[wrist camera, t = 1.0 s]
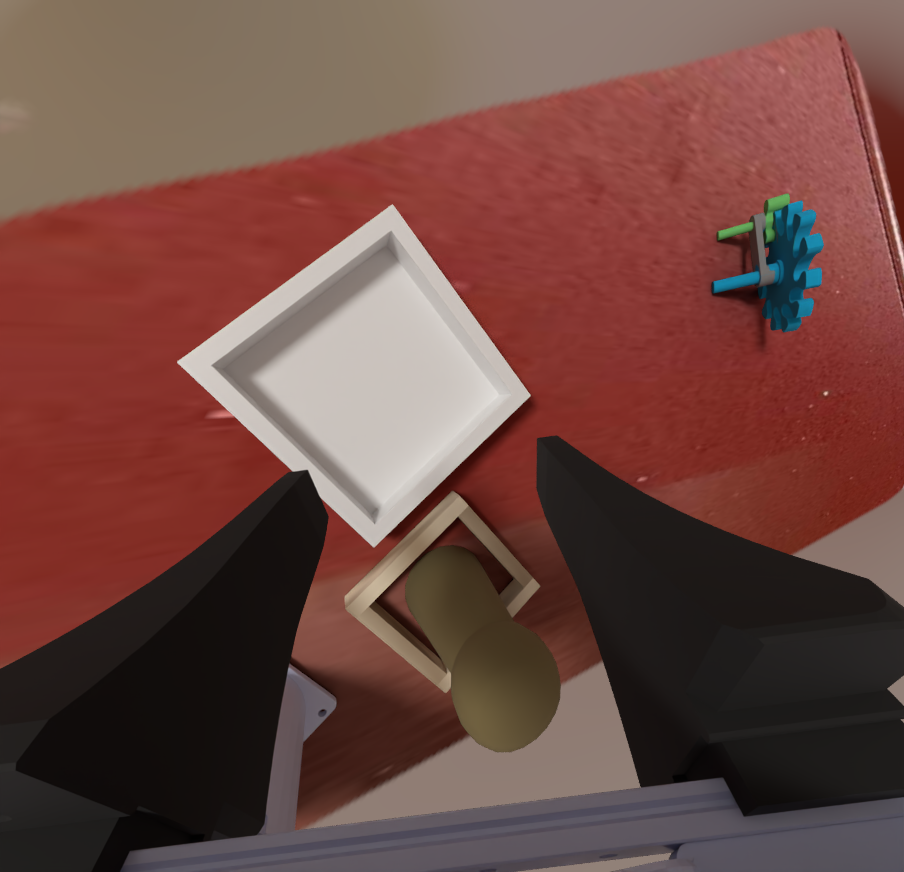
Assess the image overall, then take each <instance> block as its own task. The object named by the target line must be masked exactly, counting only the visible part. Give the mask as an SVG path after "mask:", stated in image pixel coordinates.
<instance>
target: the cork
mask: <svg viewBox="0 0 904 872" xmlns="http://www.w3.org/2000/svg"><path fill="white" fill-rule="evenodd" d="M405 599H406V602H407V605H408V608H409V610H410V612H411V613H412V615H413V616H414V618H415V619H416V621H417V622H418V624H419V625H420V627H421V629H422V630H423V632H424V633H425V635H426V636H427V638H428V639H429V641H430V642H431V644H432V645H433V647H434V648H435V650H436V652H437V653H438V655H439V656H440V658H441V659H442V661H443V662H444V664H445V665H446V667H447V668H448V670H449V671H450V673H451V694H452V700H453V703H454V706H455V709H456V712H457V715H458V717H459V720H460V723H461V725H462V726H463V727H464V729H465V730H466V731H467V732H468V734H469V735H470V736H471V737H472V738H473V739H474V740H475V741H476V742H477V743H478V744H480V745H482V746H484V747H486V748H488V749H490V750H493V751H495V752H512V751H515V750H518V749H521V748H523V747H525V746H526V745H528V744H530V743H531V742H533V741H534V740H535V739H537V738H538V737H539V736H540V735H541V733H542V732H543V731H544V730H545V729H546V728H547V727H548V725H549V724H550V722H551V720H552V718H553V717H554V715H555V713H556V710H557V707H558V703H559V700H560V687H561V685H560V677H559V672H558V668H557V665H556V661H555V659H554V657H553V655H552V653H551V652H550V650H549V649H548V647H547V646H546V645H545V643H544V642H543V641H542V640H541V639H540V637H539V636H538V635H537V634H536V633H534V632H532V631H531V630H529V629H527V628H525V627H524V626H522V625H520V624H519V623H515V622H514V620H513V619H512V617H511V615H510V613H509V612H508V610H507V608H506V607H505V605H504V603H503V601H502V600H501V598H500V596H499V595H498V593H497V591H496V589H495V588H494V586H493V584H492V582H491V581H490V579H489V577H488V576H487V574H486V572H485V570H484V569H483V567H482V565H481V564H480V562H479V561H478V559H477V558H476V557H475V555H474V554H473V553H471V552H470V551H468V550H467V549H465V548H463V547H458V546H454V545H451V546H442V547H439V548H436V549H434V550H432V551H430V552H428V553H427V554H425V555H424V556H423V557H422V558H421V559H419V560H418V561H417V563H416V564H415V565H414V567H413V568H412V570H411V571H410V573H409V576H408V579H407V582H406V585H405Z"/></svg>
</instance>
